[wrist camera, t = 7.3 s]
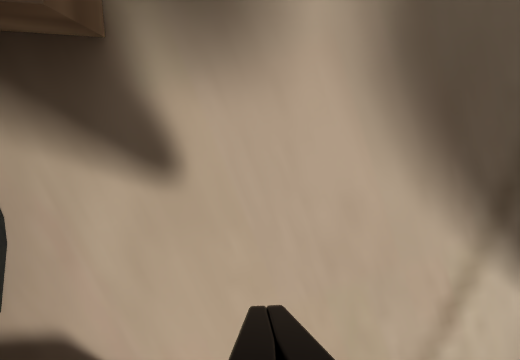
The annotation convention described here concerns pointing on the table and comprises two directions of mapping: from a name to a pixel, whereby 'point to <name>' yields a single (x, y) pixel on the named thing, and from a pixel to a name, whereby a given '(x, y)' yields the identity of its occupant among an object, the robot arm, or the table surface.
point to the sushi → (2, 254)
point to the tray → (53, 17)
